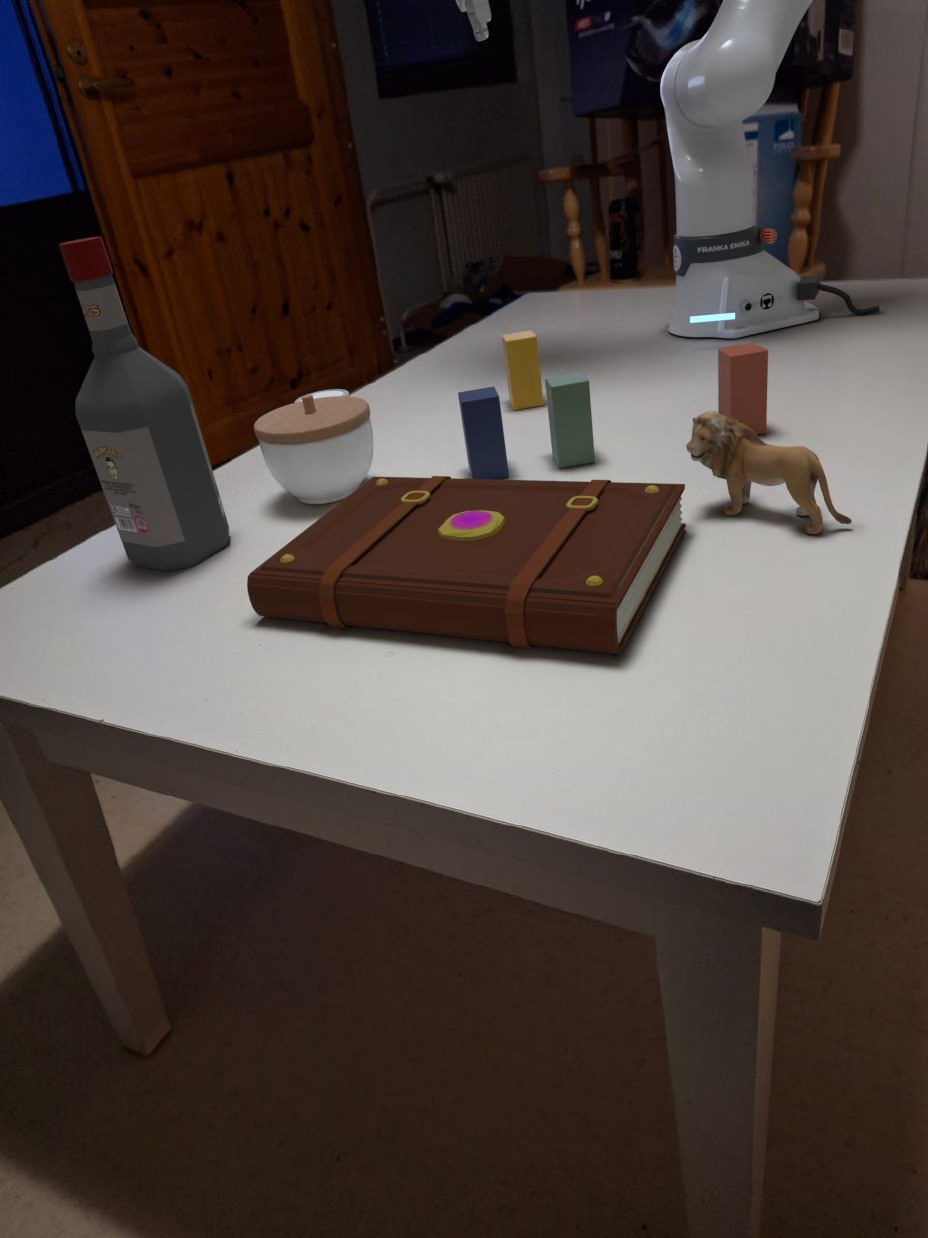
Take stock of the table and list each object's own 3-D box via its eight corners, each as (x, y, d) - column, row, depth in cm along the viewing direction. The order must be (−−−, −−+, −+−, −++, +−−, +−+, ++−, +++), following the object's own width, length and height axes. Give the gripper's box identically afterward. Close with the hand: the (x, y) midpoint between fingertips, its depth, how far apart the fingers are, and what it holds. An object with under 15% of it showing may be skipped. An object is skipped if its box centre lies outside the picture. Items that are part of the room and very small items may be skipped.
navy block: (504, 465, 101) (494, 386, 96) (509, 477, 97) (499, 395, 93) (469, 471, 101) (457, 392, 96) (473, 483, 97) (461, 402, 93)
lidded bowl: (401, 470, 104) (383, 375, 99) (355, 514, 94) (333, 412, 89) (306, 471, 109) (284, 381, 103) (253, 514, 99) (226, 417, 93)
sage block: (587, 450, 101) (581, 371, 97) (595, 462, 98) (589, 380, 93) (552, 456, 101) (544, 377, 97) (559, 468, 97) (551, 386, 93)
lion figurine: (678, 514, 83) (676, 419, 79) (705, 492, 86) (704, 401, 82) (839, 540, 74) (846, 435, 70) (863, 516, 77) (871, 414, 73)
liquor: (179, 576, 87) (68, 247, 72) (118, 564, 92) (3, 253, 77) (244, 536, 93) (155, 227, 79) (185, 527, 98) (90, 234, 84)
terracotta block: (752, 422, 101) (754, 341, 97) (766, 433, 98) (768, 350, 93) (718, 428, 101) (717, 348, 97) (730, 439, 98) (730, 356, 93)
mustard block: (538, 397, 122) (531, 329, 118) (543, 405, 118) (536, 335, 114) (509, 402, 122) (501, 334, 118) (513, 410, 118) (505, 341, 114)
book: (382, 513, 93) (372, 468, 91) (686, 527, 80) (685, 474, 78) (254, 623, 76) (239, 571, 74) (616, 664, 63) (612, 602, 60)
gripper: (480, -136, 103) (511, 1, 108) (476, -74, 122) (503, 40, 127) (427, -117, 104) (461, 18, 109) (431, -59, 123) (460, 54, 128)
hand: (483, 30), depth 118 cm, fingers open, 8 cm apart
